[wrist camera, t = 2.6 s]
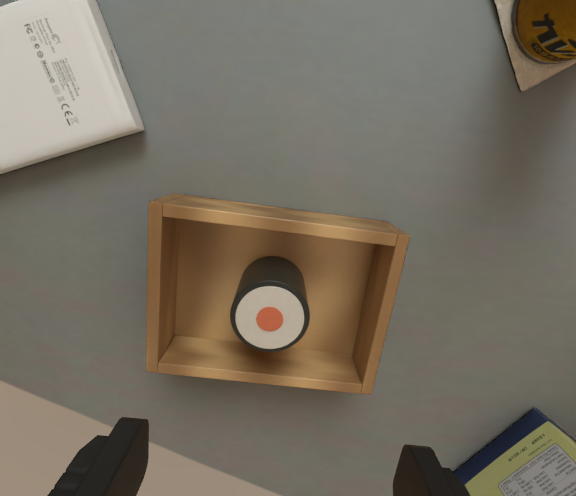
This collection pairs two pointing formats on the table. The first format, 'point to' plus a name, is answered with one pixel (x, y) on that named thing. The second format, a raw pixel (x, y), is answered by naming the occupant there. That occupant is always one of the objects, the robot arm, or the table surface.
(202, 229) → the bento box
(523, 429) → the protein box
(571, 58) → the condiment
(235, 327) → the sushi roll
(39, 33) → the hard drive
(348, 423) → the table surface
